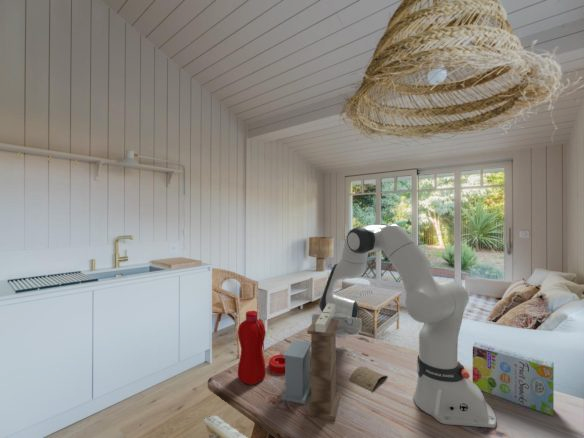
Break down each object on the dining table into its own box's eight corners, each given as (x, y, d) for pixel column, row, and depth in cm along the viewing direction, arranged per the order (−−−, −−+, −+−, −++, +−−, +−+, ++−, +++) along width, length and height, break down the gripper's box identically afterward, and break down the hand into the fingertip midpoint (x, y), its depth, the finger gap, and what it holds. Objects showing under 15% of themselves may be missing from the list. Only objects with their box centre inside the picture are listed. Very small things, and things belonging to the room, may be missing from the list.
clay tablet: (371, 395, 97) (371, 387, 97) (346, 383, 103) (346, 376, 103) (389, 377, 107) (389, 370, 107) (365, 367, 114) (365, 361, 114)
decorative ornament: (296, 364, 116) (296, 357, 116) (286, 376, 107) (286, 368, 107) (276, 359, 120) (276, 352, 120) (264, 370, 111) (264, 362, 111)
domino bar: (335, 310, 104) (335, 303, 104) (325, 332, 84) (325, 324, 84) (327, 309, 105) (327, 302, 105) (315, 331, 85) (315, 323, 85)
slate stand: (313, 383, 102) (313, 342, 102) (304, 404, 91) (304, 358, 91) (292, 379, 105) (292, 339, 105) (281, 399, 93) (281, 354, 93)
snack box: (553, 408, 89) (553, 361, 89) (553, 417, 85) (553, 367, 85) (475, 381, 104) (475, 340, 104) (471, 388, 100) (471, 345, 99)
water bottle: (254, 390, 98) (253, 319, 98) (234, 379, 105) (234, 312, 105) (272, 379, 105) (272, 312, 105) (252, 368, 112) (252, 306, 112)
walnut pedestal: (340, 396, 95) (340, 319, 95) (335, 421, 83) (335, 333, 83) (314, 391, 98) (314, 316, 97) (305, 414, 86) (305, 330, 86)
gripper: (315, 314, 126) (309, 307, 114) (362, 319, 120) (360, 312, 108) (314, 329, 123) (307, 323, 111) (362, 335, 117) (360, 329, 105)
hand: (334, 317), depth 110 cm, fingers open, 8 cm apart
